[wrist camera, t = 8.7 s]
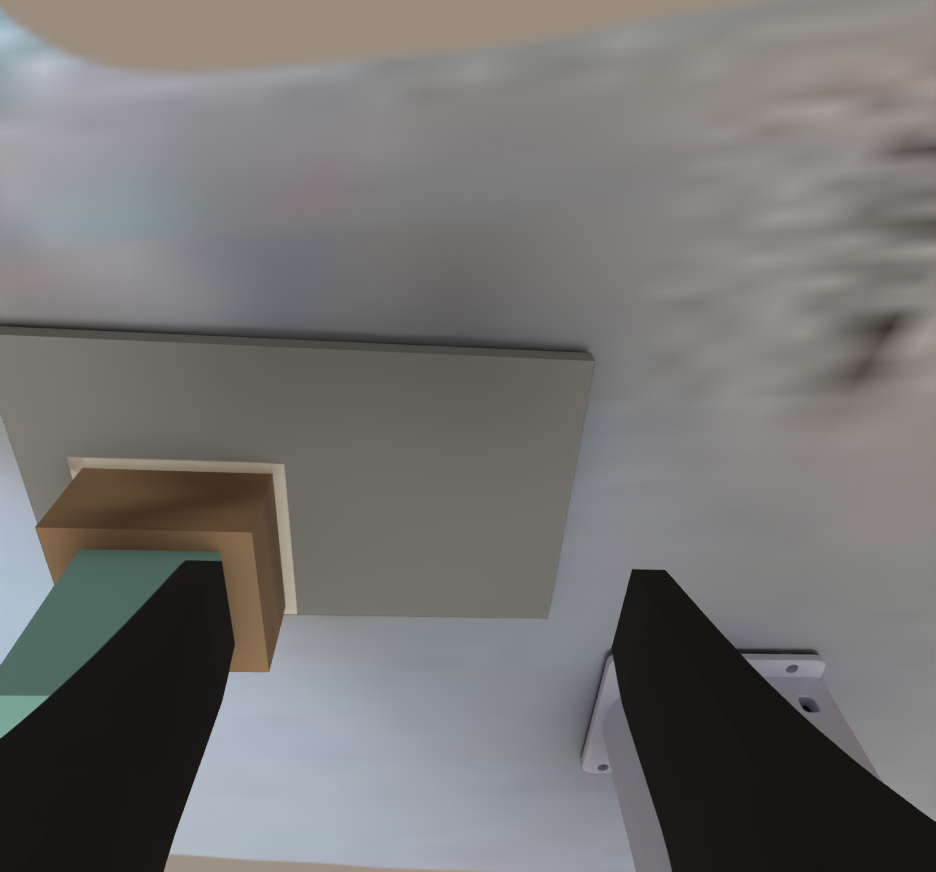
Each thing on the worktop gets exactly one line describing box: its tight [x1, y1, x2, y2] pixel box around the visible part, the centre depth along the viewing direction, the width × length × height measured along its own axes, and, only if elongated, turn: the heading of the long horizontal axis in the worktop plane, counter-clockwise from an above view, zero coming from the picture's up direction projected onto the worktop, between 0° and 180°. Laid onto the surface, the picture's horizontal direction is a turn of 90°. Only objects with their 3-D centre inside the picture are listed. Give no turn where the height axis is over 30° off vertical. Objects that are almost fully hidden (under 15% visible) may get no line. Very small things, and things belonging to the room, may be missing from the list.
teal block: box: [0, 549, 236, 738], centre depth 19 cm, size 4×4×5 cm
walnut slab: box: [35, 468, 286, 672], centre depth 22 cm, size 6×6×3 cm
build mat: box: [0, 326, 595, 619], centre depth 23 cm, size 18×11×1 cm, turn 86°
